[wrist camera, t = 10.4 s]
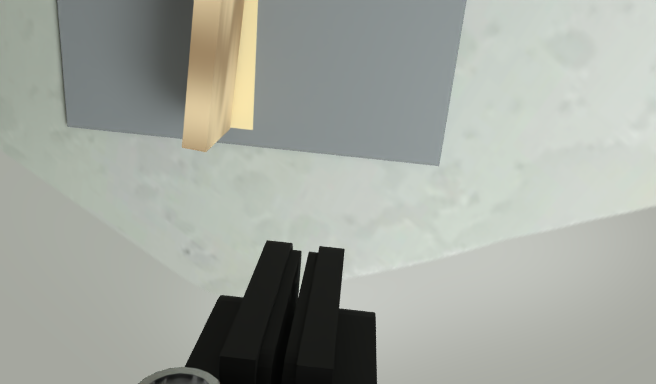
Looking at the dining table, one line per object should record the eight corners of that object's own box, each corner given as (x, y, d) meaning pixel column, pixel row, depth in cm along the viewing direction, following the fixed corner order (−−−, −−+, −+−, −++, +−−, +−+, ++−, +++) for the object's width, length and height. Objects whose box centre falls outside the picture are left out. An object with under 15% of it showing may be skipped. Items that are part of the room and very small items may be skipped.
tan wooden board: (224, -110, 27) (193, -132, 22) (263, -103, 27) (241, -123, 22) (202, 123, 31) (172, 147, 27) (236, 130, 31) (212, 154, 27)
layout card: (70, 125, 33) (66, 127, 32) (48, -143, 28) (44, -145, 27) (438, 164, 32) (439, 166, 31) (483, -107, 27) (484, -108, 26)
